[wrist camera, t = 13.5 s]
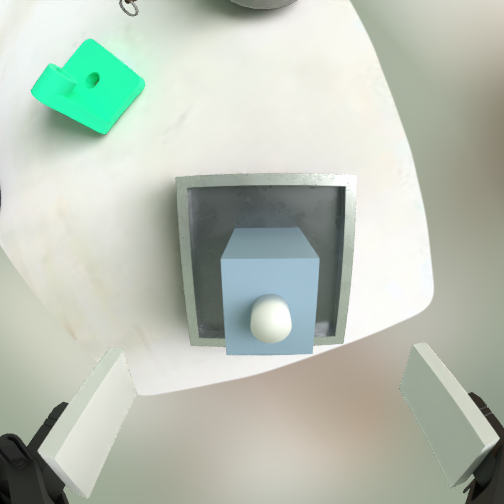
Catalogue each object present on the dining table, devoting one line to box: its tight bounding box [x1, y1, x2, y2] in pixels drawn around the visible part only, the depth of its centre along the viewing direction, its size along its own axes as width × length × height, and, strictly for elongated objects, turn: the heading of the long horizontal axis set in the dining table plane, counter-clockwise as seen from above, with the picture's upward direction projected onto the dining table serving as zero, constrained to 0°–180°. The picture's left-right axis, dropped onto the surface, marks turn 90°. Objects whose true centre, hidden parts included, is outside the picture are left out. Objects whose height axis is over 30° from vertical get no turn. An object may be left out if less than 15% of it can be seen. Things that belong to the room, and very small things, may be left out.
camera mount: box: [31, 39, 145, 134], centre depth 23 cm, size 12×8×10 cm, turn 46°
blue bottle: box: [221, 228, 320, 355], centre depth 23 cm, size 6×7×12 cm
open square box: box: [176, 173, 356, 347], centre depth 30 cm, size 16×17×6 cm
